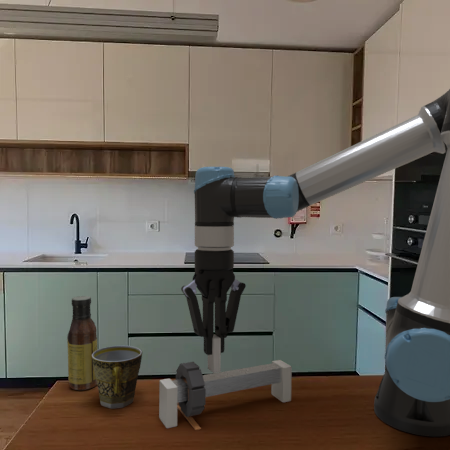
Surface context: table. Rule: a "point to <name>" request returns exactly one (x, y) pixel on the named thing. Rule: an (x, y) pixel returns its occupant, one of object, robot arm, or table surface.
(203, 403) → the ring
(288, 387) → the stand
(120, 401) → the ceramic cup
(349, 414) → the table surface
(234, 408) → the table surface
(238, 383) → the light grey bar
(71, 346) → the sauce bottle
